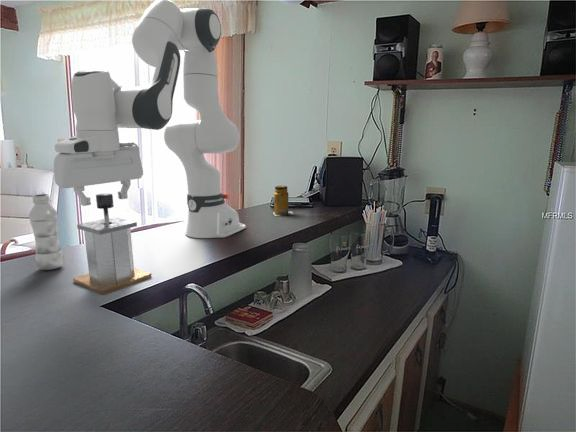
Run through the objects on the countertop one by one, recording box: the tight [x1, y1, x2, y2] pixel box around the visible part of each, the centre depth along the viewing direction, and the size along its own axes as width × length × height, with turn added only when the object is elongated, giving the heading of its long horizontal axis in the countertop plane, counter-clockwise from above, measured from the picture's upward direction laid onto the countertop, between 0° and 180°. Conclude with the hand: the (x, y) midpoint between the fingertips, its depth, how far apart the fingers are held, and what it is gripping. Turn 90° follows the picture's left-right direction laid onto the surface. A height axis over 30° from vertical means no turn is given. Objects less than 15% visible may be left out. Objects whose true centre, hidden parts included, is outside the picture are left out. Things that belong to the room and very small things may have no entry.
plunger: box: [95, 193, 114, 225], centre depth 98 cm, size 7×7×17 cm
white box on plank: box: [72, 216, 152, 296], centre depth 99 cm, size 13×13×14 cm
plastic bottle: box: [28, 193, 65, 271], centre depth 106 cm, size 6×7×20 cm
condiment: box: [272, 185, 295, 217], centre depth 172 cm, size 7×8×12 cm
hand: (105, 201), depth 97 cm, fingers open, 8 cm apart
